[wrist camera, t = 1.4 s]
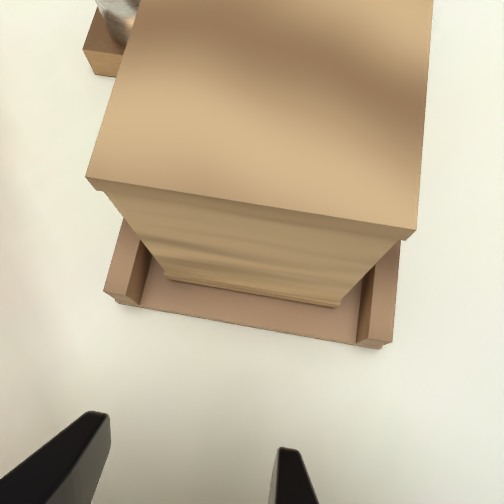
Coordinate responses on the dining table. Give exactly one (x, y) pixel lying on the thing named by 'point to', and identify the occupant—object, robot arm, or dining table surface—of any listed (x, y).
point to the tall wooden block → (269, 139)
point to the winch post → (109, 35)
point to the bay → (259, 299)
